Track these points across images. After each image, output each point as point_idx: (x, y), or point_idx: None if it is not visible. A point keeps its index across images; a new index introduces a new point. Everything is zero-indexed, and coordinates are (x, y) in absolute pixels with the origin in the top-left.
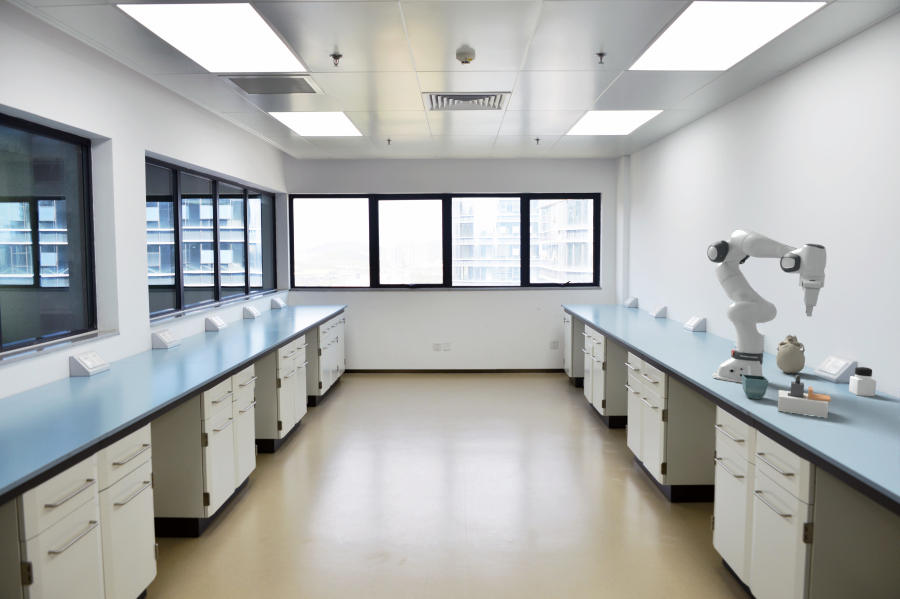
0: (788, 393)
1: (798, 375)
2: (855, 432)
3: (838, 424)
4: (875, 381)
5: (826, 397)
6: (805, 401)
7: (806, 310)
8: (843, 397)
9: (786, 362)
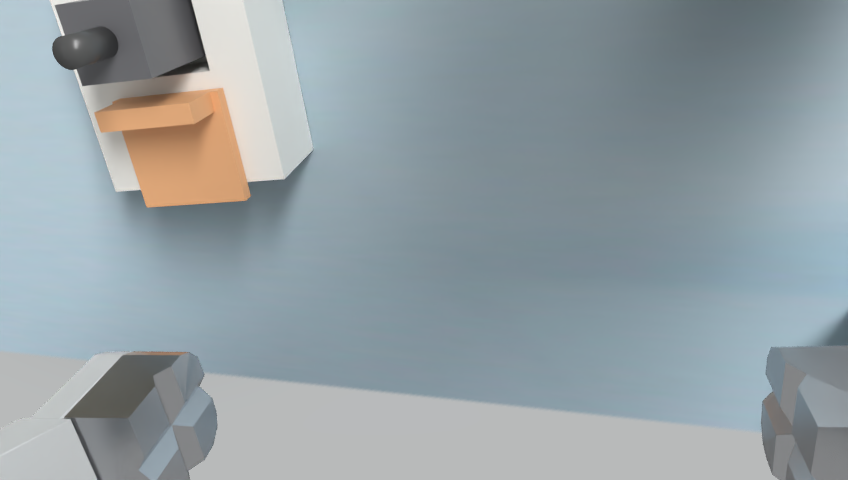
0: None
1: (79, 54)
2: (39, 258)
3: (102, 205)
4: None
5: (178, 187)
6: None
7: (807, 420)
8: (743, 234)
9: None
